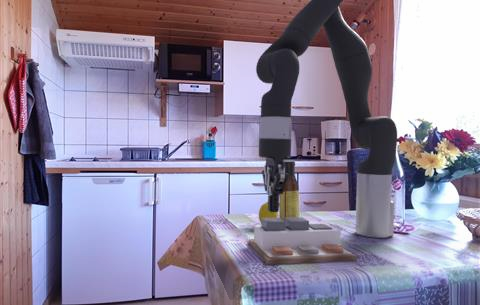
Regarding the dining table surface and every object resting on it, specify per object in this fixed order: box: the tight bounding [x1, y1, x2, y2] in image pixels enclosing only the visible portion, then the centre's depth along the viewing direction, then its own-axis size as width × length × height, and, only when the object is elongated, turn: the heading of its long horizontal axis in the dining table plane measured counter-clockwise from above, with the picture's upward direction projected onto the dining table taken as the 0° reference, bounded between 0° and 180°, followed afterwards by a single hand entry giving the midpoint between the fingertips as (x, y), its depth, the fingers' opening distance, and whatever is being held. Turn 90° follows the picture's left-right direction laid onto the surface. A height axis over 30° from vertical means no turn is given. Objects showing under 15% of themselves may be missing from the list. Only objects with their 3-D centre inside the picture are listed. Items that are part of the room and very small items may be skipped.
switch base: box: [248, 238, 358, 266], centre depth 81 cm, size 20×16×2 cm
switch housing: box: [253, 222, 342, 251], centre depth 83 cm, size 19×8×4 cm, turn 102°
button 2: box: [285, 216, 310, 230], centre depth 83 cm, size 4×4×4 cm
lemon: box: [258, 201, 279, 223], centre depth 103 cm, size 6×6×8 cm
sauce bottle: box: [278, 160, 300, 221], centre depth 112 cm, size 7×6×20 cm
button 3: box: [260, 217, 285, 231], centre depth 81 cm, size 4×4×4 cm
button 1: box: [309, 223, 332, 230], centre depth 84 cm, size 4×4×4 cm
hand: (273, 211), depth 81 cm, fingers closed
